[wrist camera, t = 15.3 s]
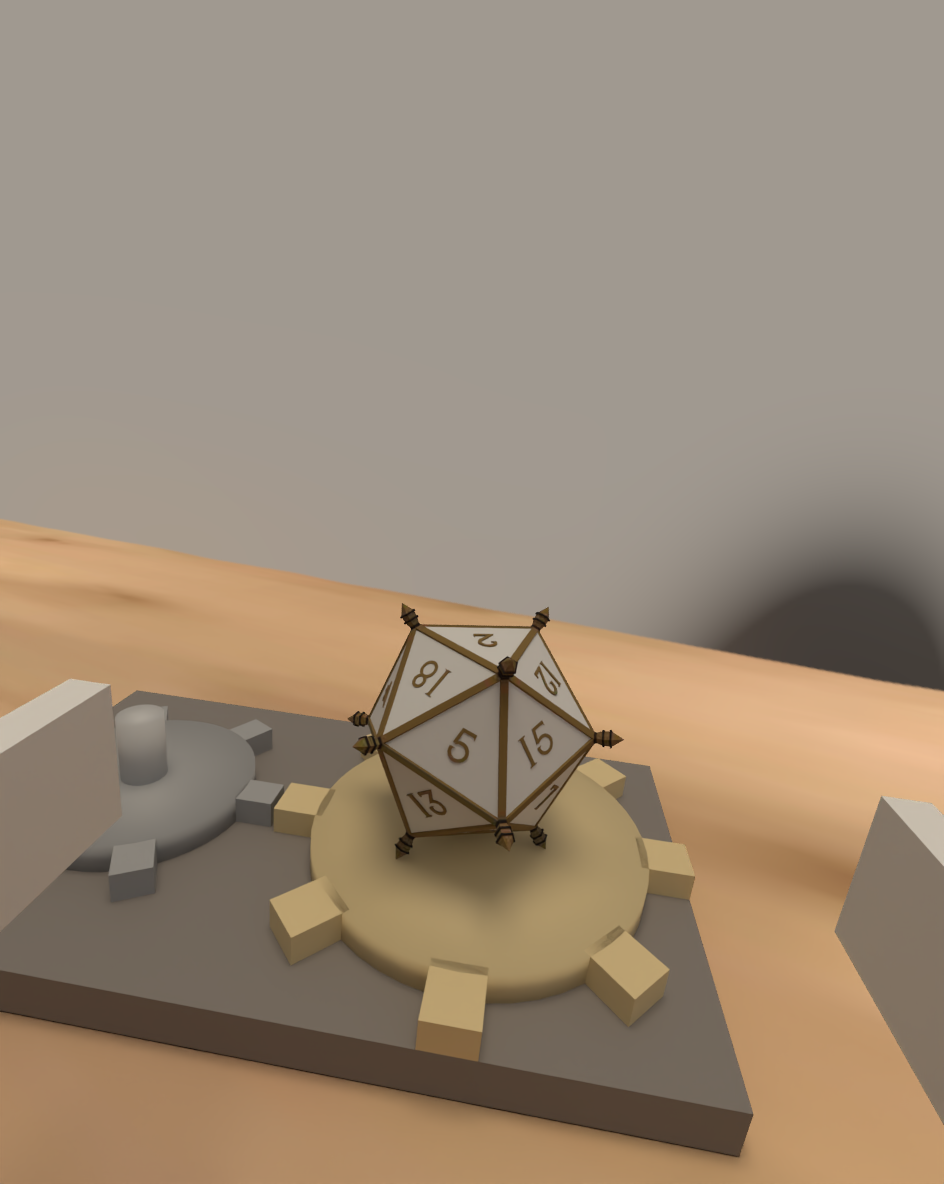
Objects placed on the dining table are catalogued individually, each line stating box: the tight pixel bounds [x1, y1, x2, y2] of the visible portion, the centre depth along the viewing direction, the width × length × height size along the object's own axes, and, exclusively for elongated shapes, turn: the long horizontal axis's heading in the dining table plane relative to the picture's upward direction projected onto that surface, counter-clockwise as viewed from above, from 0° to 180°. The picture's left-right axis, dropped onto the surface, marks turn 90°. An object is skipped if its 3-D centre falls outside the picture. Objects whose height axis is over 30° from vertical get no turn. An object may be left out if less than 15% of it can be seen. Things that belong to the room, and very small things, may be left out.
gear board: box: [0, 691, 753, 1156], centre depth 22 cm, size 26×15×5 cm, turn 84°
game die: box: [348, 603, 624, 859], centre depth 21 cm, size 9×8×10 cm
